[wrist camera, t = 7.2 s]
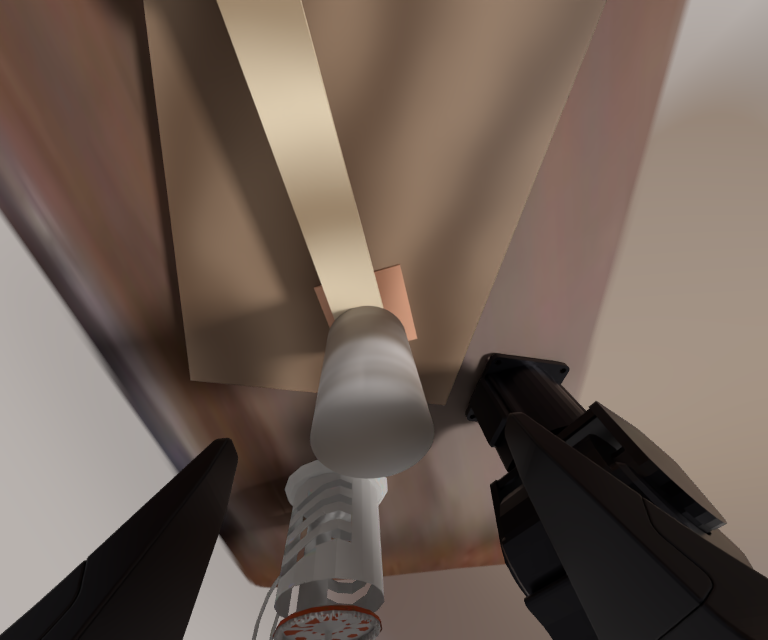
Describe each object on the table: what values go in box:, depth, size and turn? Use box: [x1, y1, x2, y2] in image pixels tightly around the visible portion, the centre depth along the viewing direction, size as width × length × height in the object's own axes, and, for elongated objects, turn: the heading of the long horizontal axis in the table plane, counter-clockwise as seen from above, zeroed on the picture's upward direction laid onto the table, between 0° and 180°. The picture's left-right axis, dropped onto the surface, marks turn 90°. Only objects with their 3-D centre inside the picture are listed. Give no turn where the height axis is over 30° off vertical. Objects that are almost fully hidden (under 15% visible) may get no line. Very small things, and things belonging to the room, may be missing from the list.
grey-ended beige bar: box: [217, 0, 434, 479], centre depth 9 cm, size 20×4×8 cm, turn 13°
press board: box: [143, 0, 607, 405], centre depth 15 cm, size 18×25×2 cm
